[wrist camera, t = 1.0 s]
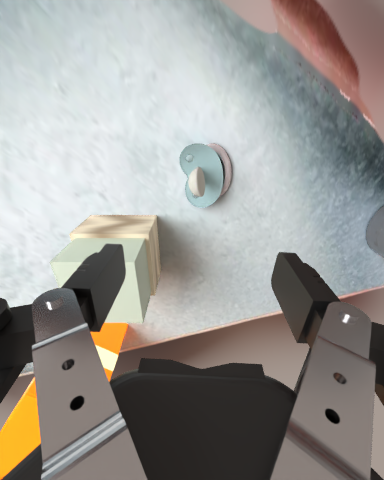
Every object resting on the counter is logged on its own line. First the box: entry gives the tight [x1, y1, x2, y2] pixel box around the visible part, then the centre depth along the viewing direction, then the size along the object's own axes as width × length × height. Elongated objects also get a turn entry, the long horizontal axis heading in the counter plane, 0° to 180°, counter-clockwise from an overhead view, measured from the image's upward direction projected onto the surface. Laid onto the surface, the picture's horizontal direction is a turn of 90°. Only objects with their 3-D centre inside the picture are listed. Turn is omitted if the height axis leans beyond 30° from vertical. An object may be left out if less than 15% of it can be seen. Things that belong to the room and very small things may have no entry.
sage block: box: [50, 238, 151, 323], centre depth 25 cm, size 8×8×5 cm
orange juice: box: [0, 323, 128, 480], centre depth 31 cm, size 8×9×20 cm
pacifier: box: [180, 144, 231, 208], centre depth 25 cm, size 7×6×6 cm
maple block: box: [70, 215, 161, 295], centre depth 30 cm, size 9×9×6 cm
